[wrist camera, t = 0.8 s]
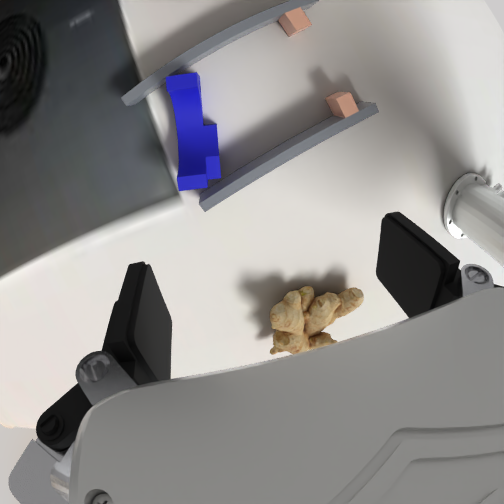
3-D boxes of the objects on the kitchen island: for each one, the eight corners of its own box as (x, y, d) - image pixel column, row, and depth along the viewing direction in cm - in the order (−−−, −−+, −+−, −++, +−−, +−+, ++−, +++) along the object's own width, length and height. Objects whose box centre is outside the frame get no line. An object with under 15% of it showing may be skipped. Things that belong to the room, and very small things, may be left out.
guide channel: (304, 0, 24) (313, -8, 21) (365, 109, 32) (379, 112, 29) (129, 97, 28) (120, 97, 25) (205, 201, 36) (204, 212, 33)
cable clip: (220, 171, 35) (221, 186, 29) (184, 175, 34) (178, 191, 29) (212, 75, 28) (212, 70, 23) (173, 80, 28) (165, 76, 23)
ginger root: (243, 346, 49) (254, 375, 41) (270, 261, 45) (288, 280, 38) (319, 352, 53) (338, 377, 46) (350, 277, 50) (376, 296, 42)
